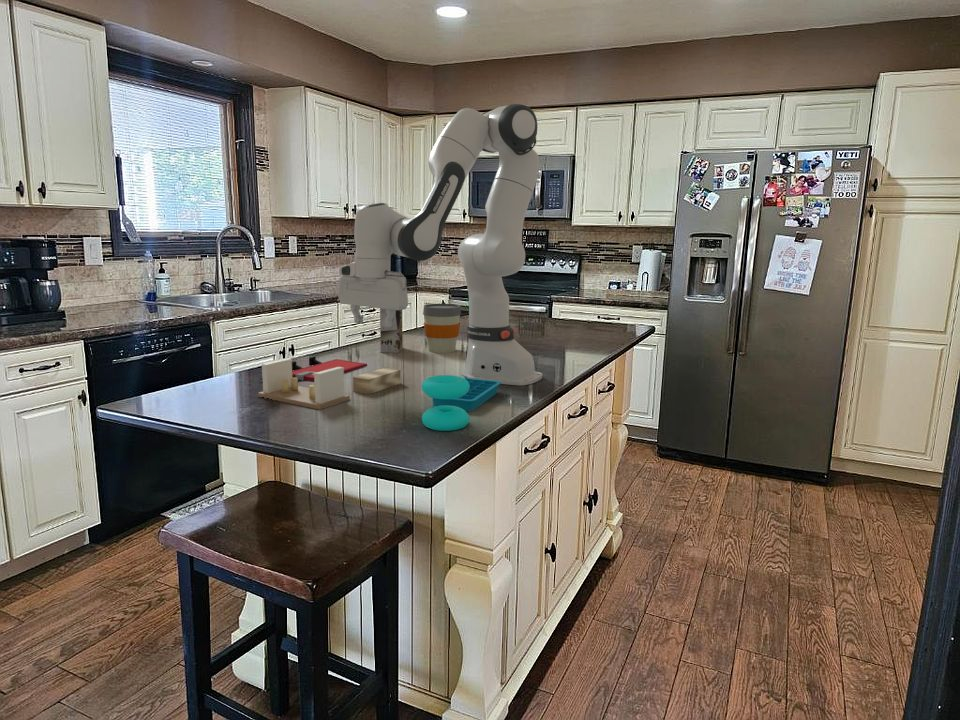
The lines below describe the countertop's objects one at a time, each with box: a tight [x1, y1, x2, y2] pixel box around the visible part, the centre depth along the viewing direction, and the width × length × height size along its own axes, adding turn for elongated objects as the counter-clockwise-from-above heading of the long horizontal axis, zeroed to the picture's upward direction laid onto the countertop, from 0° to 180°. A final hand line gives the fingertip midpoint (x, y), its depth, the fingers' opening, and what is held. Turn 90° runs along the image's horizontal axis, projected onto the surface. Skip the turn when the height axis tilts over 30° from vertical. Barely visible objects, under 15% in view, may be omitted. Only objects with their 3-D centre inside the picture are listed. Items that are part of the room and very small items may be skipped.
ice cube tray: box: [428, 377, 502, 412], centre depth 155 cm, size 12×20×3 cm, turn 159°
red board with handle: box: [259, 356, 368, 382], centre depth 179 cm, size 30×3×15 cm
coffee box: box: [379, 308, 403, 354], centre depth 211 cm, size 9×6×16 cm
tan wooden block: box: [352, 367, 401, 395], centre depth 165 cm, size 13×5×4 cm, turn 150°
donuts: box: [421, 374, 470, 432], centre depth 134 cm, size 10×10×10 cm
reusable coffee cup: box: [422, 303, 462, 354], centre depth 212 cm, size 13×13×15 cm
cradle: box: [257, 357, 350, 411], centre depth 153 cm, size 20×10×8 cm, turn 60°
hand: (372, 324), depth 162 cm, fingers open, 8 cm apart
